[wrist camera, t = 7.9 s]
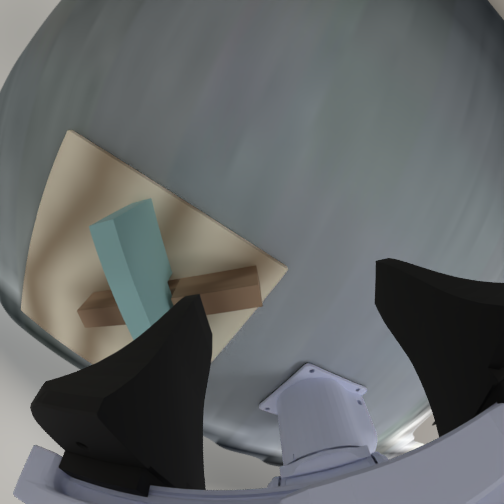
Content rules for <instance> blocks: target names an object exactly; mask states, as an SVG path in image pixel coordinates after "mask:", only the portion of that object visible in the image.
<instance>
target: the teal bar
mask: <svg viewBox="0 0 504 504" xmlns="http://www.w3.org/2000/svg"><path fill="white" fill-rule="evenodd" d="M89 229H90V232H91V236H92V239H93V242H94V245H95V248H96V251H97V254H98V257H99V260H100V262H101V265H102V268H103V271H104V273H105V276H106V278H107V281H108V284H109V286H110V289H111V291H112V294H113V296H114V298H115V301H116V303H117V305H118V308H119V310H120V312H121V315H122V317H123V319H124V321H125V323H126V325H127V328H128V330H129V332H130V334H131V336H132V338H133V340H135V339H136V338H137V337H139V336H140V335H141V334H142V333H144V332H145V331H146V330H147V329H148V328H149V327H151V326H152V325H153V324H154V323H155V322H157V321H158V320H159V319H160V318H161V317H162V316H163V315H164V314H165V313H166V312H167V311H168V310H170V309H171V308H172V307H173V303H172V300H171V297H172V294H171V291H170V288H169V285H168V280H169V278H170V277H171V275H172V270H171V267H170V264H169V260H168V257H167V254H166V250H165V247H164V244H163V240H162V237H161V233H160V229H159V226H158V222H157V218H156V215H155V211H154V207H153V203H152V199H151V198H150V199H146V200H142V201H139V202H135V203H131V204H129V205H127V206H125V207H124V208H122V209H120V210H118V211H116V212H114V213H112V214H110V215H108V216H106V217H105V218H103V219H101V220H99V221H97V222H96V223H94V224H92V225H90V226H89Z"/></svg>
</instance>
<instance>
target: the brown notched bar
mask: <svg viewBox="0 0 504 504" xmlns="http://www.w3.org/2000/svg"><path fill="white" fill-rule="evenodd" d="M168 285H169V288H170V291H171V294H172V297H171V300H172V303H173V306H174V305H175V304H176V303H177V302H178V301H179V300H181V299H182V298H183V297H185V296H189V295H195V294H200V297H201V300H202V303H203V307H204V310H205V313H206V315H211V314H218V313H225V312H231V311H238V310H244V309H250V308H256V307H262V297H261V288H260V281H259V276H258V271H257V266H256V265H255V266H249V267H244V268H238V269H232V270H227V271H221V272H215V273H209V274H204V275H198V276H192V277H186V278H180V279H174V280H168ZM77 312H78V315H79V317H80V319H81V321H82V323H83V325H84V327H85V328H91V327H104V326H116V325H126V323H125V321H124V319H123V317H122V315H121V312H120V310H119V308H118V305H117V303H116V301H115V298H114V296H113V294H112V291H111V290H106V291H100V292H93V293H92V294H91V295H90V296H89V298H88V299H87V300H86V301H85V302H84V303H83V304H82V305H81V306H80V308H79V309H78V310H77Z"/></svg>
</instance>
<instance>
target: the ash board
mask: <svg viewBox="0 0 504 504" xmlns="http://www.w3.org/2000/svg"><path fill="white" fill-rule="evenodd" d="M150 198H151V199H152V203H153V207H154V211H155V215H156V218H157V222H158V226H159V229H160V233H161V237H162V240H163V244H164V247H165V250H166V254H167V257H168V260H169V264H170V267H171V270H172V275H171V277H170V278H169V280H174V279H180V278H186V277H192V276H198V275H204V274H209V273H215V272H221V271H227V270H232V269H238V268H244V267H249V266H255V265H256V266H257V271H258V276H259V281H260V288H261V297H262V302H263V301H264V299H265V298H266V297H267V296H268V294H269V293H270V292H271V291H272V289H273V288H274V287H275V286H276V284H277V283H278V282H279V281H280V279H281V278H282V277H283V276H284V274H285V273H286V272H287V271H288V268H287V266H285V265H284V264H282V263H281V262H279V261H278V260H276V259H275V258H273V257H272V256H270V255H268V254H267V253H265V252H264V251H262V250H261V249H259V248H258V247H256V246H254V245H253V244H251V243H250V242H248V241H247V240H245V239H244V238H242V237H241V236H239V235H237V234H236V233H234V232H233V231H231V230H230V229H228V228H227V227H225V226H223V225H222V224H220V223H219V222H217V221H216V220H214V219H212V218H211V217H209V216H208V215H206V214H205V213H203V212H202V211H200V210H198V209H197V208H195V207H194V206H192V205H191V204H189V203H187V202H186V201H184V200H183V199H181V198H180V197H178V196H176V195H175V194H173V193H172V192H170V191H169V190H167V189H165V188H164V187H162V186H161V185H159V184H157V183H156V182H154V181H153V180H151V179H150V178H148V177H146V176H145V175H143V174H142V173H140V172H139V171H137V170H135V169H134V168H132V167H131V166H129V165H127V164H126V163H124V162H123V161H121V160H119V159H118V158H116V157H115V156H113V155H111V154H110V153H108V152H107V151H105V150H103V149H102V148H100V147H99V146H97V145H96V144H94V143H92V142H91V141H89V140H87V139H86V138H84V137H83V136H81V135H79V134H78V133H76V132H75V131H73V130H68V131H67V133H66V135H65V138H64V140H63V142H62V145H61V147H60V149H59V152H58V154H57V157H56V159H55V162H54V164H53V167H52V170H51V172H50V175H49V178H48V181H47V184H46V187H45V190H44V193H43V196H42V199H41V203H40V206H39V210H38V213H37V217H36V221H35V225H34V229H33V233H32V238H31V243H30V248H29V253H28V258H27V264H26V270H25V277H24V285H23V294H22V304H21V310H22V311H23V312H24V313H25V314H26V315H27V316H28V317H30V318H31V319H32V320H33V321H34V322H36V323H37V324H38V325H39V326H40V327H42V328H43V329H44V330H45V331H47V332H48V333H49V334H51V335H52V336H53V337H54V338H56V339H57V340H58V341H60V342H61V343H62V344H64V345H65V346H67V347H68V348H69V349H71V350H72V351H74V352H75V353H77V354H78V355H79V356H81V357H82V358H84V359H85V360H87V361H89V362H90V363H92V364H95V363H97V362H99V361H101V360H103V359H104V358H106V357H108V356H110V355H112V354H113V353H115V352H117V351H119V350H120V349H122V348H123V347H125V346H126V345H128V344H129V343H130V342H132V341H133V338H132V336H131V334H130V332H129V330H128V328H127V325H116V326H104V327H91V328H85V327H84V325H83V323H82V321H81V319H80V317H79V315H78V312H77V310H78V309H79V308H80V306H81V305H82V304H83V303H84V302H85V301H86V300H87V299H88V298H89V296H90V295H91V294H92V293H93V292H100V291H106V290H111V289H110V286H109V284H108V281H107V278H106V276H105V273H104V271H103V268H102V265H101V262H100V260H99V257H98V254H97V251H96V248H95V245H94V242H93V239H92V236H91V232H90V229H89V226H90V225H92V224H94V223H96V222H97V221H99V220H101V219H103V218H105V217H106V216H108V215H110V214H112V213H114V212H116V211H118V210H120V209H122V208H124V207H125V206H127V205H129V204H131V203H135V202H139V201H142V200H146V199H150ZM257 308H258V307H256V308H250V309H244V310H238V311H231V312H225V313H218V314H211V315H206V316H207V319H208V322H209V325H210V328H211V331H212V334H213V339H212V358H211V362H212V361H213V360H214V359H215V358H216V356H217V355H218V354H219V353H220V352H221V351H222V349H223V348H224V347H225V346H226V345H227V344H228V342H229V341H230V340H231V339H232V338H233V337H234V335H235V334H236V333H237V332H238V331H239V329H240V328H241V327H242V326H243V325H244V324H245V322H246V321H247V320H248V319H249V318H250V316H251V315H252V314H253V313H254V311H255V310H256V309H257Z"/></svg>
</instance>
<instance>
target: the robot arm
mask: <svg viewBox="0 0 504 504" xmlns="http://www.w3.org/2000/svg"><path fill="white" fill-rule="evenodd" d="M375 305H376V307H377V309H378V311H379V313H380V315H381V317H382V319H383V321H384V322H385V324H386V325H387V327H388V328H389V330H390V331H391V333H392V334H393V335H394V337H395V338H396V340H397V341H398V343H399V344H400V346H401V347H402V348H403V350H404V351H405V353H406V354H407V356H408V357H409V359H410V361H411V362H412V364H413V366H414V368H415V370H416V372H417V374H418V376H419V379H420V381H421V383H422V385H423V388H424V390H425V393H426V395H427V398H428V400H429V403H430V406H431V409H432V412H433V415H434V419H435V422H436V426H437V430H438V434H439V438H437V439H435V440H433V441H431V442H429V443H427V444H425V445H423V446H421V447H419V448H416V449H414V450H412V451H409V452H407V453H405V454H402V455H400V456H397V457H395V458H392V459H390V460H388V458H387V457H386V456H385V455H383V454H380V453H379V452H375V450H376V446H377V433H376V430H375V427H374V425H373V422H372V420H371V417H370V415H369V412H368V410H367V407H366V405H365V402H364V400H363V397H362V395H364V394H365V393H366V392H367V388H366V387H364V386H362V385H359V384H357V383H354V382H352V381H349V380H347V379H345V378H342V377H340V376H338V375H335V374H333V373H331V372H328V371H326V370H324V369H322V368H319V367H317V366H315V365H313V364H310V363H307V364H305V365H303V366H302V367H301V368H300V369H299V370H298V371H297V372H296V373H295V374H294V375H293V376H292V377H290V378H289V379H288V380H287V381H286V382H285V383H284V384H283V385H281V386H280V387H279V388H278V389H277V390H276V391H275V392H273V393H272V394H271V395H270V396H269V397H268V398H266V399H265V400H264V401H263V402H262V403H260V404H259V408H260V409H261V410H264V411H267V412H270V413H273V414H276V415H278V422H279V430H280V439H281V448H282V457H283V465H284V466H281V467H280V475H281V476H279V477H274V478H273V479H272V481H271V482H270V483H269V484H268V486H267V488H260V489H245V490H206V489H205V478H204V465H203V408H204V399H205V393H206V388H207V382H208V376H209V370H210V364H211V358H212V339H213V334H212V331H211V328H210V325H209V322H208V319H207V316H206V313H205V310H204V307H203V303H202V300H201V297H200V294H195V295H189V296H185V297H183V298H182V299H181V300H179V301H178V302H177V303H176V304H175V305H174V306H173V307H172V308H171V309H170V310H168V311H167V312H166V313H165V314H164V315H163V316H162V317H161V318H160V319H159V320H158V321H157V322H155V323H154V324H153V325H152V326H151V327H149V328H148V329H147V330H146V331H145V332H144V333H142V334H141V335H140V336H139V337H137V338H136V339H135V340H133V341H132V342H130V343H129V344H128V345H126V346H125V347H123V348H122V349H120V350H119V351H117V352H115V353H113V354H112V355H110V356H108V357H106V358H104V359H103V360H101V361H99V362H97V363H95V364H93V365H91V366H89V367H86V368H84V369H82V370H79V371H77V372H74V373H71V374H69V375H65V376H63V377H60V378H56V379H53V380H49V381H46V382H45V383H44V384H43V386H42V387H41V389H40V391H39V392H38V394H37V395H36V397H35V399H34V400H33V402H32V403H31V407H30V408H31V411H32V415H33V417H34V418H35V420H36V421H37V423H38V424H39V425H40V426H41V427H42V428H43V430H45V432H47V434H48V435H50V437H52V439H54V441H56V442H57V443H58V444H59V445H60V446H61V447H62V448H63V449H64V450H65V452H64V455H63V457H62V456H60V455H58V454H57V453H55V452H52V451H50V450H47V449H45V448H42V447H40V446H37V445H34V446H33V448H32V450H31V452H30V455H29V457H28V459H27V461H26V463H25V465H24V468H23V470H22V472H21V475H20V477H19V479H18V482H17V484H16V487H15V489H14V492H13V494H14V496H15V497H16V498H18V499H19V500H21V501H22V502H24V503H25V504H504V283H493V282H482V281H474V280H469V279H463V278H458V277H454V276H450V275H446V274H442V273H439V272H435V271H432V270H429V269H426V268H422V267H419V266H416V265H413V264H410V263H407V262H403V261H400V260H396V259H391V258H387V259H382V260H378V261H376V284H375ZM311 369H313V370H311Z"/></svg>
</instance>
